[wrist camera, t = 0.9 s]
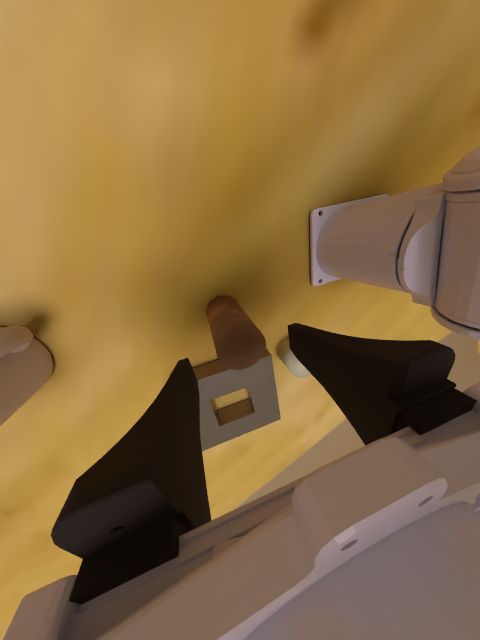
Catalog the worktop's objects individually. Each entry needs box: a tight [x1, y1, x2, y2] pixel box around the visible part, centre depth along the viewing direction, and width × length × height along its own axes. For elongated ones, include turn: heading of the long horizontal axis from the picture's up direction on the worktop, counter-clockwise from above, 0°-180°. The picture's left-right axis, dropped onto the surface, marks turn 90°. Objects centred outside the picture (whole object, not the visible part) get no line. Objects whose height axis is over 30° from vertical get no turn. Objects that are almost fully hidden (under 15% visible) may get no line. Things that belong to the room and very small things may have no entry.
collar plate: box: [192, 347, 281, 451], centre depth 23 cm, size 12×12×2 cm
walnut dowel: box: [207, 296, 266, 370], centre depth 16 cm, size 4×4×8 cm
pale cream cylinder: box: [277, 337, 311, 378], centre depth 22 cm, size 4×4×4 cm
